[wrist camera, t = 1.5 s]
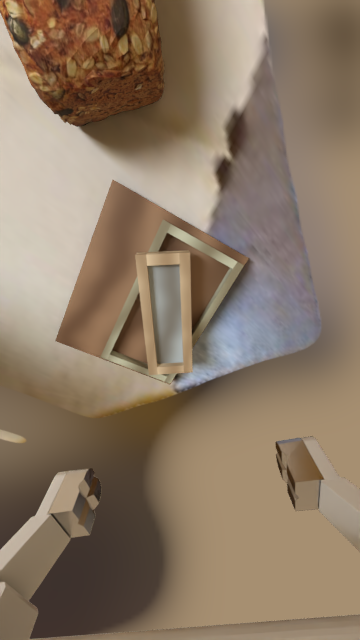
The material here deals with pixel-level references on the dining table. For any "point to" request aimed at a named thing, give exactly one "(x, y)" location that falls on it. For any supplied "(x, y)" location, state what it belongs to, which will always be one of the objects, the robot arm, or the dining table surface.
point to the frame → (166, 310)
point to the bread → (88, 54)
